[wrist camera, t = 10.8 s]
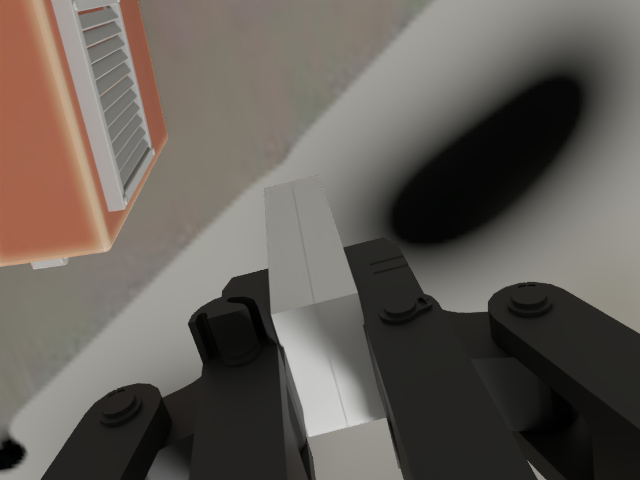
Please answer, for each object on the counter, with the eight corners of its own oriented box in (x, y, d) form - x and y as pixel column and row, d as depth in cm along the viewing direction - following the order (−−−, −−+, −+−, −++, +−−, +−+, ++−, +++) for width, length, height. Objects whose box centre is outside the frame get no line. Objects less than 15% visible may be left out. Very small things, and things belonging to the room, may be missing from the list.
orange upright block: (95, 165, 48) (38, -44, 42) (183, 153, 48) (140, -56, 42) (-14, 296, 28) (-152, -61, 22) (136, 275, 28) (42, -83, 22)
